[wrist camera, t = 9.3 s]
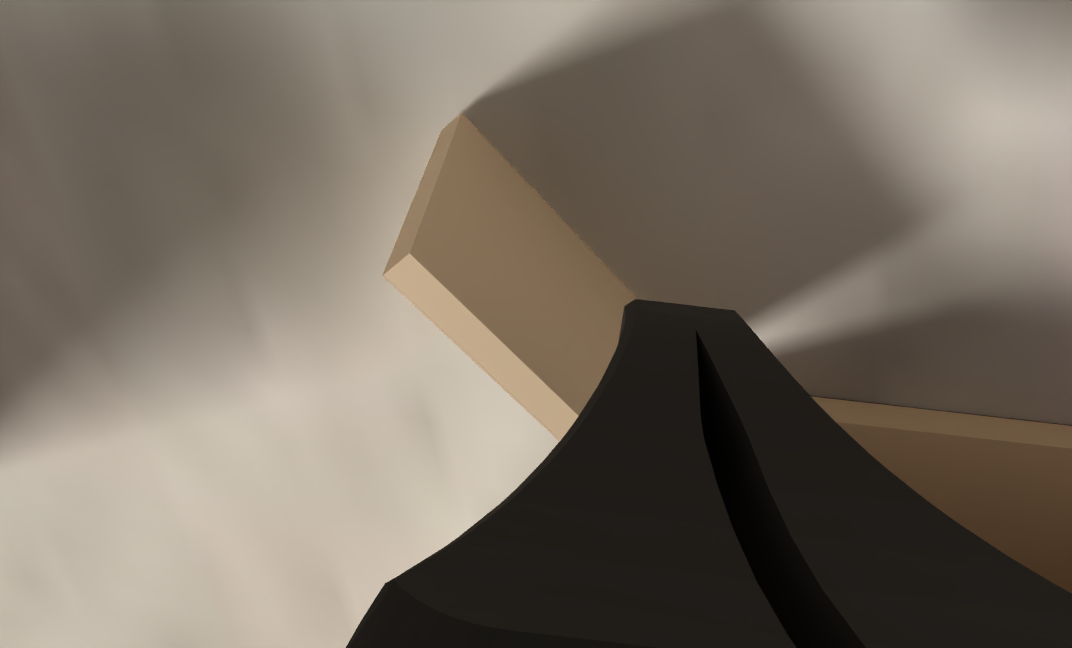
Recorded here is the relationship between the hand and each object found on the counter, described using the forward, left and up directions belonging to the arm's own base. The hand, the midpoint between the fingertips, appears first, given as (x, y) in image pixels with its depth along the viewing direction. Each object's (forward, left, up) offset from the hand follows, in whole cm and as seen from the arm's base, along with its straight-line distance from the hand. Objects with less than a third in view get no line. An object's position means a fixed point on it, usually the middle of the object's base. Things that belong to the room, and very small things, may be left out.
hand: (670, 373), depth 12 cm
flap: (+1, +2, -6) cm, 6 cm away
